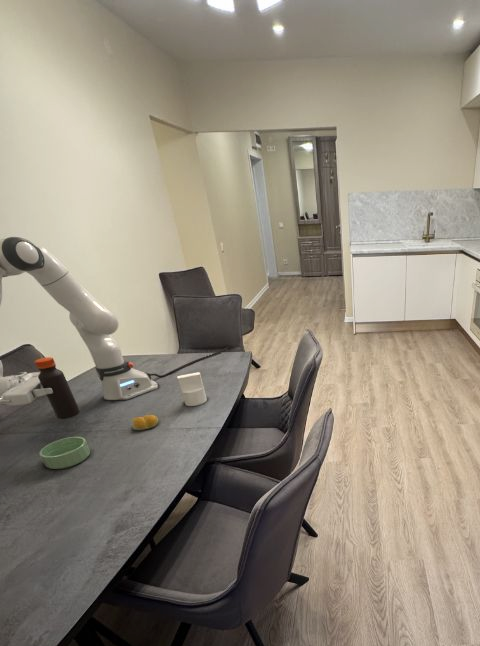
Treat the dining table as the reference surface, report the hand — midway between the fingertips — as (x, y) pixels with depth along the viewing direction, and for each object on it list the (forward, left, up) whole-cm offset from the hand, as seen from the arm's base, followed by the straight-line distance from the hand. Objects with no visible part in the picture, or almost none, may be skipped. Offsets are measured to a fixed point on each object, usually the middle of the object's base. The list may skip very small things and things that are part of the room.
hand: (58, 385), depth 129 cm
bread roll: (-20, +4, -22) cm, 30 cm away
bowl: (+6, +9, -22) cm, 25 cm away
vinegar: (+1, 0, -11) cm, 11 cm away
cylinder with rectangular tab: (-43, -3, -22) cm, 48 cm away
